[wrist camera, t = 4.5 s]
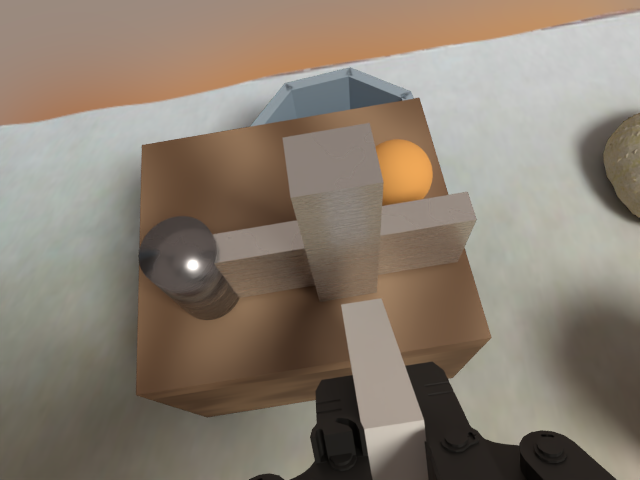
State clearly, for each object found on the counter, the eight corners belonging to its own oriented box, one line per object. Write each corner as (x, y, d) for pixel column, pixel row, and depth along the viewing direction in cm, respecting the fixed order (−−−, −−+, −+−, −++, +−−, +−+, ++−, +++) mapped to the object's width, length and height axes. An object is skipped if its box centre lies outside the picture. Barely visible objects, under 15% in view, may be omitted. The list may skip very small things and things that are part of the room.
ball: (349, 204, 23) (346, 167, 20) (381, 155, 24) (383, 113, 21) (408, 234, 22) (415, 199, 19) (439, 182, 23) (450, 142, 20)
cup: (243, 222, 35) (216, 168, 28) (319, 120, 38) (310, 51, 32) (370, 291, 32) (371, 248, 25) (440, 174, 35) (456, 109, 29)
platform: (207, 417, 29) (135, 395, 20) (199, 228, 35) (141, 145, 26) (452, 377, 29) (491, 337, 20) (405, 193, 35) (419, 97, 26)
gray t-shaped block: (180, 324, 21) (64, 235, 13) (179, 266, 22) (72, 150, 14) (462, 278, 21) (524, 158, 13) (446, 222, 22) (493, 79, 14)
